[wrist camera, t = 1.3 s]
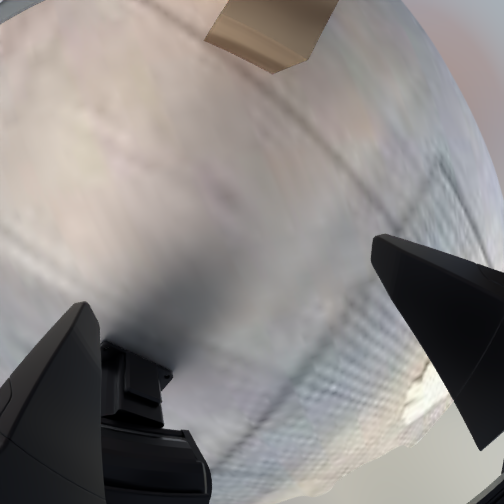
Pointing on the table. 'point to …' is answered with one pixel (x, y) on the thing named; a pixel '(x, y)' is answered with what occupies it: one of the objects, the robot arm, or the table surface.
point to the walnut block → (271, 30)
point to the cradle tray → (14, 8)
